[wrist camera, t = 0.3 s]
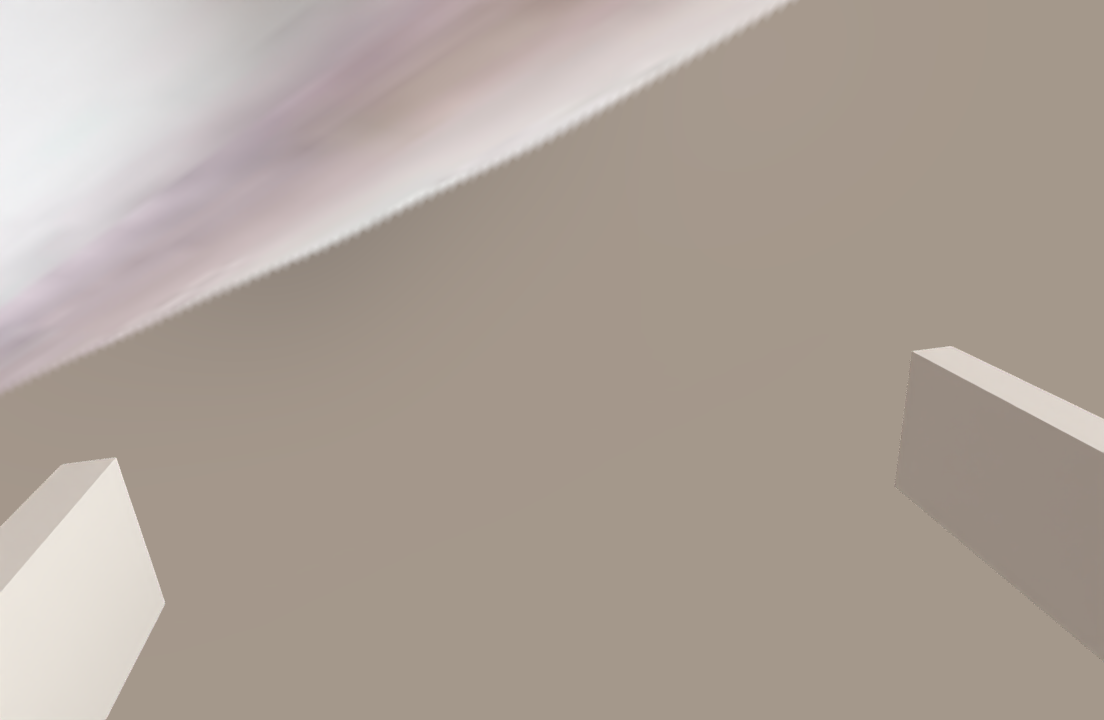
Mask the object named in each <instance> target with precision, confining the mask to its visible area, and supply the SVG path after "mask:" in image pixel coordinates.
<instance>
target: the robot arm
mask: <svg viewBox="0 0 1104 720" xmlns="http://www.w3.org/2000/svg"><path fill="white" fill-rule="evenodd" d="M906 394H907V395H906V401H905V409H904V418H903V425H902V432H901V441H900V448H899V456H898V464H897V472H896V479H895V487H896V488H897V489H898V490H899V491H901V492H902V493H903V494H904V495H905V496H906V497H908V498H909V499H910V500H911V501H912V502H913V503H915V504H916V505H917V506H918V507H919V508H921V509H922V510H923V511H924V512H925V513H927V514H928V515H929V516H930V517H931V518H933V519H934V520H935V521H936V522H937V523H939V524H940V525H941V526H942V527H943V528H944V529H946V530H947V531H948V532H949V533H951V534H952V535H953V536H954V537H955V538H956V539H958V540H959V541H960V542H961V543H962V544H964V545H965V546H966V547H967V548H968V549H969V550H971V551H972V552H973V553H974V554H975V555H977V556H978V557H979V558H980V559H982V560H983V561H984V562H985V563H986V564H987V565H989V566H990V567H991V568H992V569H994V570H995V571H996V572H997V573H998V574H999V575H1000V576H1002V577H1003V578H1004V579H1005V580H1006V581H1008V582H1009V583H1010V584H1011V585H1012V586H1014V587H1015V588H1016V589H1017V590H1019V591H1020V592H1021V593H1022V594H1023V595H1024V596H1026V597H1027V598H1028V599H1029V600H1030V601H1032V602H1033V603H1034V604H1035V605H1036V606H1037V607H1039V608H1040V609H1041V610H1042V611H1044V612H1045V613H1046V614H1047V615H1048V616H1049V617H1051V618H1052V619H1053V620H1054V621H1055V622H1056V623H1058V624H1059V625H1060V626H1061V627H1062V628H1064V629H1065V630H1066V631H1067V632H1069V633H1070V634H1071V635H1072V636H1073V637H1074V638H1076V639H1077V640H1078V641H1079V642H1080V643H1082V644H1083V645H1084V646H1085V647H1086V648H1088V649H1089V650H1090V651H1091V652H1092V653H1093V654H1095V655H1096V656H1097V657H1098V658H1099V659H1101V660H1102V661H1103V662H1104V419H1102V418H1100V417H1098V416H1096V415H1094V414H1092V413H1090V412H1088V411H1086V410H1084V409H1081V408H1080V407H1077V406H1076V405H1073V404H1071V403H1069V402H1067V401H1065V400H1063V399H1061V398H1059V397H1057V396H1055V395H1053V394H1050V393H1048V392H1046V391H1044V390H1042V389H1040V388H1038V387H1036V386H1034V385H1032V384H1030V383H1028V382H1026V381H1023V380H1021V379H1019V378H1017V377H1015V376H1013V375H1011V374H1009V373H1007V372H1005V371H1003V370H1000V369H998V368H996V367H994V366H992V365H990V364H988V363H986V362H984V361H982V360H979V359H978V358H975V357H973V356H971V355H969V354H967V353H965V352H963V351H961V350H959V349H957V348H955V347H953V346H948V347H940V348H933V349H925V350H918V351H912V355H911V363H910V370H909V378H908V386H907V393H906ZM164 605H165V601H164V598H163V595H162V592H161V589H160V586H159V583H158V580H157V577H156V574H155V571H154V568H153V565H152V563H151V559H150V556H149V553H148V550H147V547H146V545H145V542H144V539H143V536H142V533H141V530H140V527H139V524H138V521H137V518H136V515H135V512H134V509H133V506H132V504H131V500H130V497H129V494H128V491H127V488H126V486H125V482H124V479H123V476H122V473H121V471H120V468H119V465H118V462H117V459H116V457H115V458H107V459H99V460H92V461H85V462H78V463H69V464H62V465H61V466H60V467H59V468H58V469H57V470H56V471H55V472H54V473H53V474H52V475H51V476H50V477H49V478H48V479H47V480H46V481H45V482H44V483H43V484H42V485H41V486H40V487H39V488H38V489H37V490H36V491H35V492H34V493H33V494H32V495H31V496H30V497H29V498H28V499H27V500H26V501H25V502H24V503H23V504H22V505H21V506H20V507H19V508H18V510H16V511H15V512H14V513H13V514H12V515H11V516H10V517H9V518H8V520H6V522H4V524H3V525H2V526H1V527H0V720H106V718H107V716H108V714H109V712H110V710H111V708H112V706H113V705H114V702H115V700H116V698H117V697H118V695H119V693H120V691H121V688H122V687H123V685H124V683H125V681H126V679H127V677H128V675H129V673H130V671H131V669H132V667H133V665H134V664H135V661H136V660H137V658H138V656H139V654H140V652H141V650H142V648H143V646H144V644H145V642H146V640H147V638H148V636H149V634H150V632H151V630H152V628H153V626H154V625H155V623H156V621H157V619H158V617H159V615H160V612H161V611H162V609H163V607H164Z"/></svg>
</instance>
